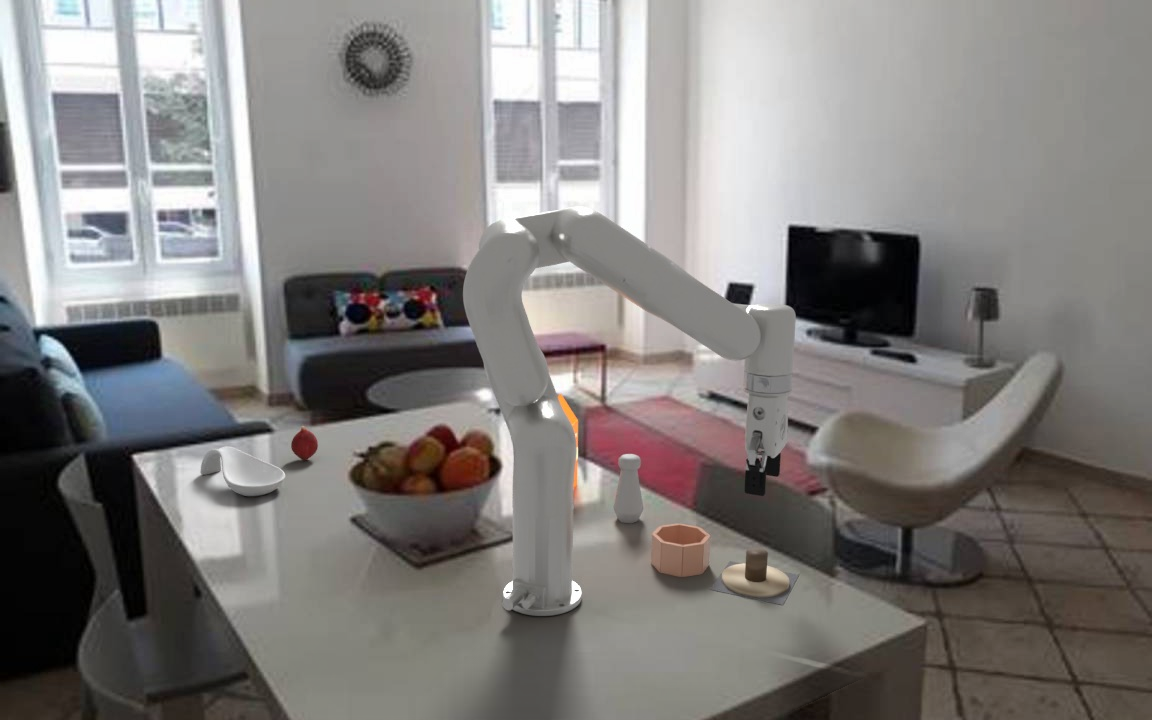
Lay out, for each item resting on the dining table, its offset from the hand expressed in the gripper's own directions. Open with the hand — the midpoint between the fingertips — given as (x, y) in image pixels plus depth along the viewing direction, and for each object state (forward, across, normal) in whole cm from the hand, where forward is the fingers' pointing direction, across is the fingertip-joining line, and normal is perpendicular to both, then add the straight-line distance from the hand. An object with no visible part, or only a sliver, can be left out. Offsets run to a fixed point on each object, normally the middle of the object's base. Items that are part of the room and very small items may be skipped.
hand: (762, 484), depth 153 cm
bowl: (+18, +1, +14) cm, 22 cm away
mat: (+18, 0, 0) cm, 18 cm away
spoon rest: (+17, -3, +110) cm, 112 cm away
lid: (+17, 0, 0) cm, 17 cm away
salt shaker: (+18, +17, +30) cm, 39 cm away
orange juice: (+18, +25, +50) cm, 58 cm away
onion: (+17, +16, +109) cm, 111 cm away
